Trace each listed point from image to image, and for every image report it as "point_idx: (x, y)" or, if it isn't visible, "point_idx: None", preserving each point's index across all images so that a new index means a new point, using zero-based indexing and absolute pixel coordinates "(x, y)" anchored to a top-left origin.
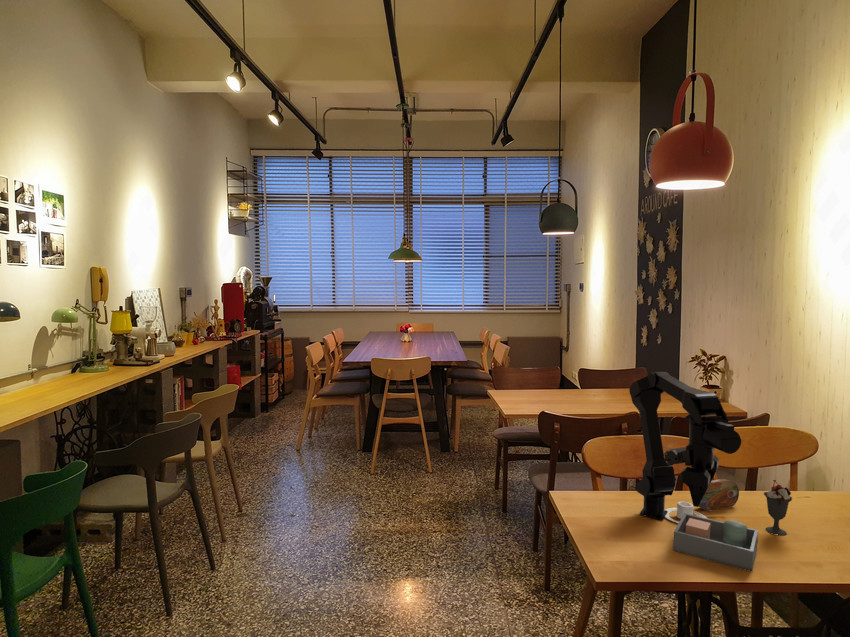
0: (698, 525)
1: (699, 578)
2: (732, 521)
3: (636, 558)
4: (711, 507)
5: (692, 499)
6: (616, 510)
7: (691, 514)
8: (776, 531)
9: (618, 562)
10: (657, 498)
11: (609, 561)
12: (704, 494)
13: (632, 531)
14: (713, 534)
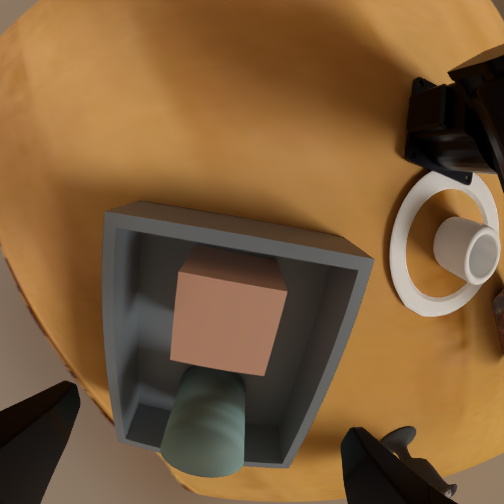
0: (203, 329)
1: (26, 279)
2: (233, 456)
3: (45, 102)
4: (501, 317)
5: (24, 403)
6: (406, 10)
7: (450, 270)
8: (388, 446)
9: (18, 72)
10: (464, 130)
11: (19, 53)
12: (342, 449)
13: (244, 43)
14: (309, 344)
